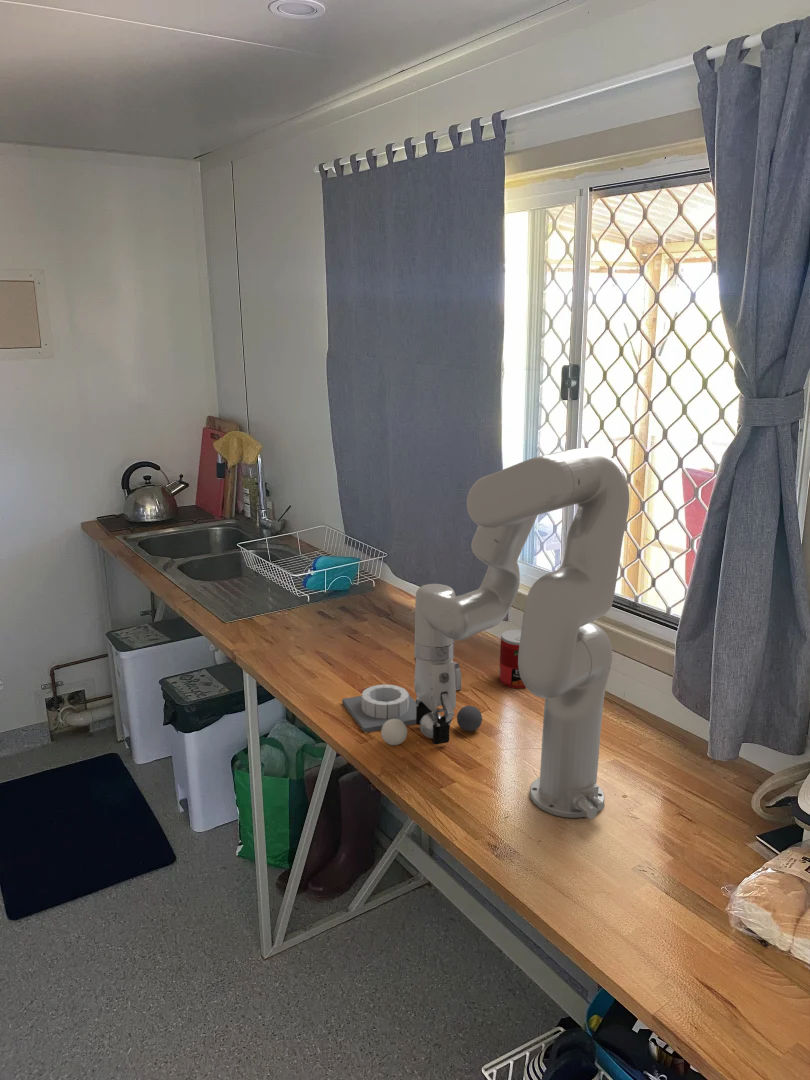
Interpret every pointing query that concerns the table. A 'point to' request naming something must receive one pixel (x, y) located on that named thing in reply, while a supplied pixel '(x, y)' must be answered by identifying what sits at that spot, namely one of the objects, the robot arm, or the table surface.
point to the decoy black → (469, 718)
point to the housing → (381, 707)
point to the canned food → (510, 659)
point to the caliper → (457, 676)
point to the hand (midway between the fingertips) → (432, 732)
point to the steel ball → (428, 724)
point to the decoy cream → (394, 731)
